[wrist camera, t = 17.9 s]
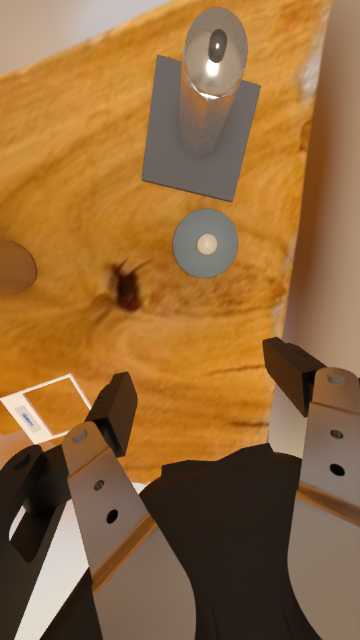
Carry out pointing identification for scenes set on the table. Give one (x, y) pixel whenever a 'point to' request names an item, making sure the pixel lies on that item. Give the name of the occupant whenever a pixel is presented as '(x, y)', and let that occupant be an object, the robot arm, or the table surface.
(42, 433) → the white rectangular frame
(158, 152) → the rubber mat
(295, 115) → the table surface
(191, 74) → the steel canister
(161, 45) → the table surface
